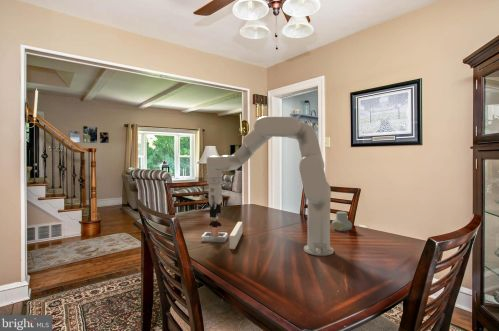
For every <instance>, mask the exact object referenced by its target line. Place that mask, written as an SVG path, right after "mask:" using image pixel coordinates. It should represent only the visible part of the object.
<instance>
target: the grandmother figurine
mask: <svg viewBox="0 0 499 331" xmlns="http://www.w3.org/2000/svg"><path fill="white" fill-rule="evenodd" d="M211 218H212V219H211V221H210V222H209V223H208V226H207V228H208V229H210V228H211V231H210V232H211V236H218V234H219V228H220V229H221V230H222V229H223V224H222V223H221V222H219V221H218V219H219V216H218V215H217V217H211Z"/></svg>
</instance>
